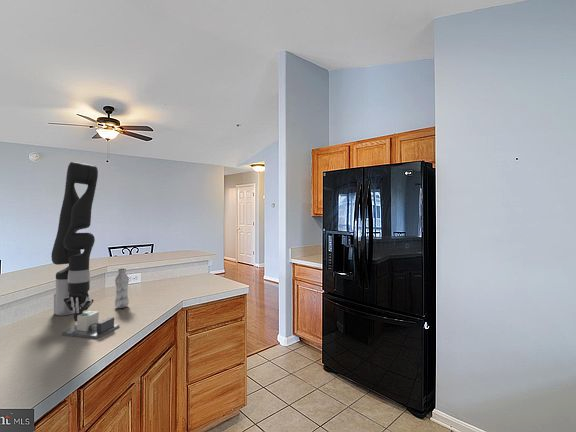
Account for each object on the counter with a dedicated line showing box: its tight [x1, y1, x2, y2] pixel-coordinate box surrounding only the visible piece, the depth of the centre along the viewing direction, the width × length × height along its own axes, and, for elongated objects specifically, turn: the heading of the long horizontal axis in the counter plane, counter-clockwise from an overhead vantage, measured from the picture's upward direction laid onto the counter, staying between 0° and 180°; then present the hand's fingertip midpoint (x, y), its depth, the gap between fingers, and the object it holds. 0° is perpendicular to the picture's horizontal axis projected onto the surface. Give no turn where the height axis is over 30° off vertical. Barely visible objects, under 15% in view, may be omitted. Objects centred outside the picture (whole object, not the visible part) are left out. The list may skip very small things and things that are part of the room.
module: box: [76, 310, 100, 331], centre depth 122 cm, size 4×6×6 cm
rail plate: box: [61, 316, 120, 339], centre depth 122 cm, size 16×12×5 cm
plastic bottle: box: [114, 268, 130, 309], centre depth 151 cm, size 6×7×20 cm
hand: (78, 320), depth 123 cm, fingers closed
